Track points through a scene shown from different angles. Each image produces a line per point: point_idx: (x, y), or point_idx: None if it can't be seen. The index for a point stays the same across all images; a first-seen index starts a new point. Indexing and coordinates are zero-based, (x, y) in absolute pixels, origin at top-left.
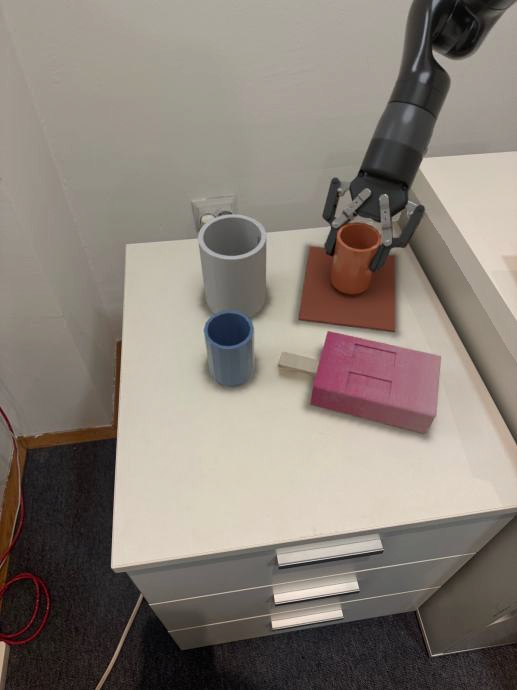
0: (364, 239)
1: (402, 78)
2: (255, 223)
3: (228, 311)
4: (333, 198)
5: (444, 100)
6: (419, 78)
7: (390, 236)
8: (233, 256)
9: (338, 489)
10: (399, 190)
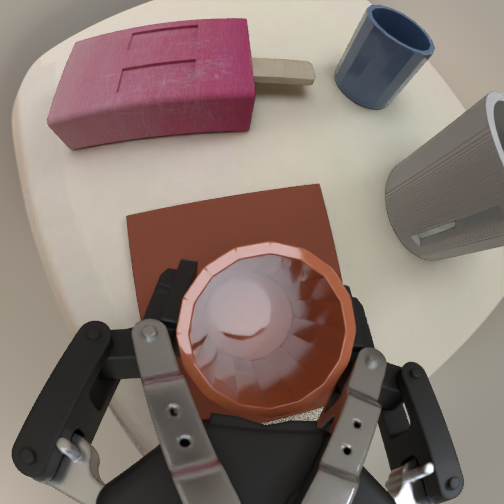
0: (247, 385)
1: None
2: None
3: (424, 52)
4: (428, 434)
5: None
6: None
7: (139, 351)
8: (498, 99)
9: (187, 6)
10: None
